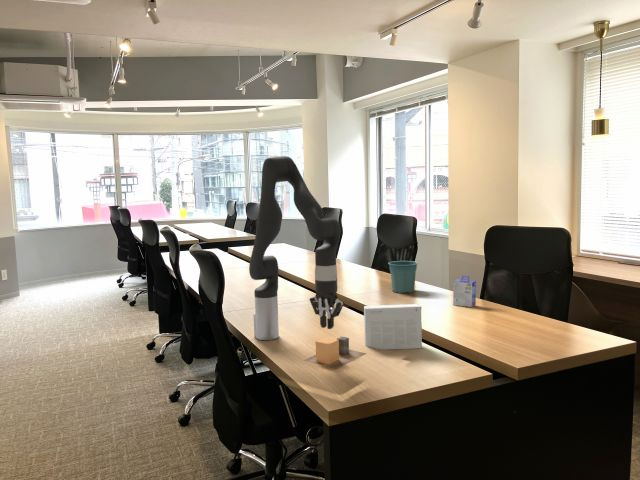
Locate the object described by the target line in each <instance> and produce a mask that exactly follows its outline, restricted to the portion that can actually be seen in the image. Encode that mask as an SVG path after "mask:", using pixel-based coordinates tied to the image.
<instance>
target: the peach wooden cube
mask: <svg viewBox="0 0 640 480" xmlns="http://www.w3.org/2000/svg"><path fill="white" fill-rule="evenodd" d="M315 355H316V361H318V362H322V363H325V364H331V363H333V362H335V361H337V360H339V340H337V338H331V337H327V336H325V337H323V338H320V339H318V340H316V341H315Z"/></svg>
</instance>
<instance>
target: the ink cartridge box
mask: <svg viewBox="0 0 640 480" xmlns="http://www.w3.org/2000/svg"><path fill="white" fill-rule="evenodd" d="M452 287H453V290H452V291H453V293H452V295H453V296H452V298H453V299H452V305H453V306H460V307H466V306H467V307H466V308H468V307H469V308H473V307H476V306H477V304H476V302H477V301H476V299H477V281H475V280H470V276H469V275H462V277H461V279H456V280H453V286H452ZM475 305H476V306H475Z"/></svg>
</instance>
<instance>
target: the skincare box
mask: <svg viewBox="0 0 640 480" xmlns="http://www.w3.org/2000/svg"><path fill="white" fill-rule="evenodd" d="M363 320H364V322H363V323H364V347H367V348H372V349H377V350H380V351H381V350H382V351H386V350H409V349H412V350H413V349H423V341H422V339H423V336H422V335H423V334H422V333H423V331H422V330H423V328H422V327H423V326H422V324H423V323H422V305H420V303H414V304H413V303H411V304H406V303H405V304H382V305H364V306H363Z"/></svg>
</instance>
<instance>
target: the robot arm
mask: <svg viewBox="0 0 640 480" xmlns="http://www.w3.org/2000/svg"><path fill="white" fill-rule="evenodd" d="M261 170H262V171H261V186H260V199H259V205H258V206H259V207H258V213H257V221H256V228H255V237H254V243H253V247H252V252H251V256H250V259H249V265H248V266H249V268H248V271H249V276H250V278H251V279H252V280H254V281H261V280H265V281H264V282H263V283H262V284H261V285H259V286H258V287H256V288H255V289H254V291H253V292H254V294H253V295H254V310H255V311H254V314H253V337H254V338H256V339H257V340H260V341H273V340H276V339H278V338H279V337H280V332H279V327H280V326H279V305H278V304H279V303H278V300H279V299H278V291H279V262H278V259H277V258H276V256H274V255H265V254H266V251H267V249H268V247H270V246H271V244H272V243H273V242H274V240H276V238H277V237H278V235H279V233H280V232H281V228H282V227H281V226H282V221H283V211H282V209H281V206H280V204H279V203H278V201H277V198H276V185H277V183H282V182H283V183H284V182H285V183H286V182H288V183H289V184H290V185H291V187H292V189H293V202H294V205H295V208H296V209H297V210H298V212H299V213H300V214H301V216H302V217H303V219H304V221H305V225H306V227H307V230H308V233H309V235H310V236H311V237H312V238H313V240H315V241H323V243H322V245H321V246H319V247H316V249H315V252H314V254H315V255H314V256H315V258H314V262H315V263H314V265H315V266H314V291H315V292H316V293H315V296H313V297H310V298H309V302H310V304H311V307H312V309H313V311H314V314H315V315H318V316H319V324H320V328H321V329H324V328H326V327H327V330H331V329H333V328H334V326H335V318H336V317H339V316H340V313H341V311H342V309H343V307H344V304H345V301H343V300H342V301H341V300H340V299H339V298H338V269H337V250H338V245H339V242H340V238H341V225H340V222H339V221H338V220H337V219H336V218H333V217H330V218H329V217H327V218H321V217H322V216H323V211H324V210H323V207H322V206H321V205H320V203H319V202H318V201H317V199H316V197H314V195H313V194H312V193H311V191H310V190H309V188H308V186H307V184H306V181H305V180H304V178H303V176H302V174H301V173H300V170H299V168H298V166H297V164H296V163H295V161H294V160H293V159H292V158H291V157H290V156H286V155H281V156H279V155H278V156H270V157H266V158H265V159H264V161H263V164H262V168H261Z"/></svg>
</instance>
